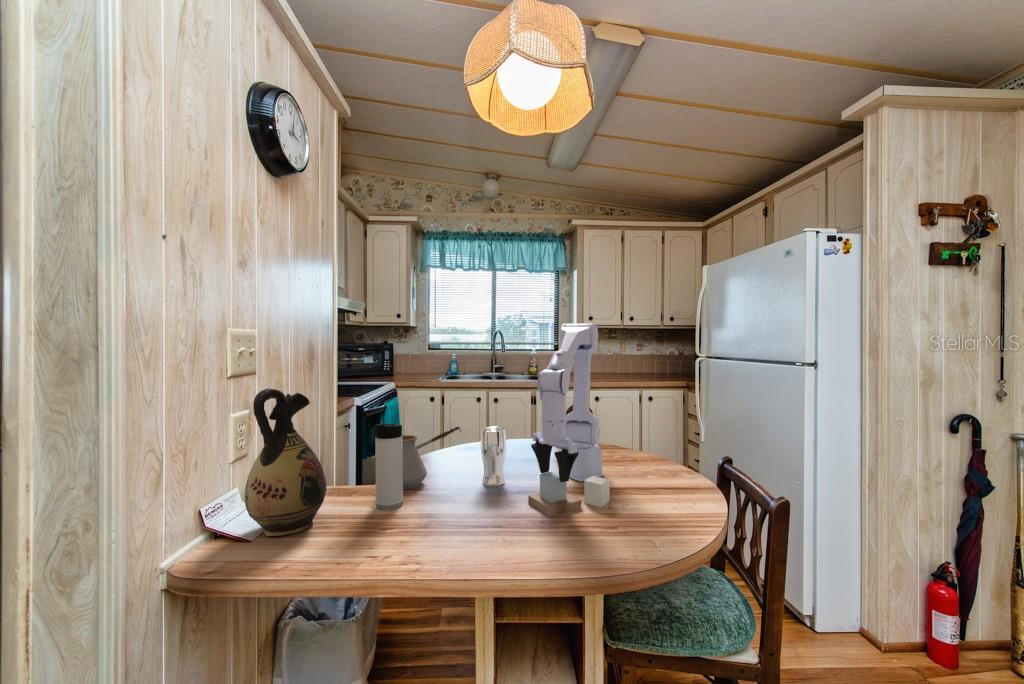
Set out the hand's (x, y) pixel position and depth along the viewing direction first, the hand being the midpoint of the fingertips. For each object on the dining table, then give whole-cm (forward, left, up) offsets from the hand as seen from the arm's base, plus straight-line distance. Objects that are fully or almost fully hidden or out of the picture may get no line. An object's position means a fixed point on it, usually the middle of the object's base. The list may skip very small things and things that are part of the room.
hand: (554, 476), depth 103 cm
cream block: (-10, +4, -7) cm, 13 cm away
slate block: (+1, 0, -5) cm, 5 cm away
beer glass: (+4, -22, -7) cm, 23 cm away
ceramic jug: (+56, -22, -7) cm, 60 cm away
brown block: (0, 0, -8) cm, 8 cm away
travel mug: (+33, -22, -7) cm, 40 cm away
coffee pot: (+20, -33, -7) cm, 39 cm away
